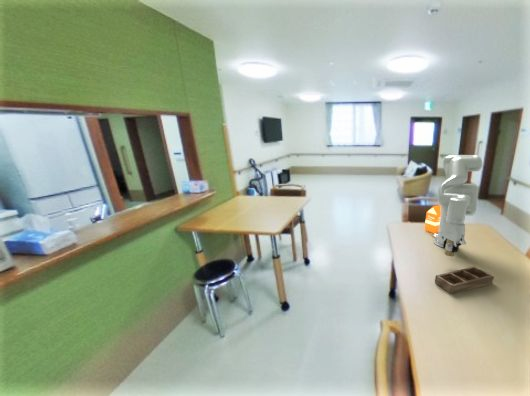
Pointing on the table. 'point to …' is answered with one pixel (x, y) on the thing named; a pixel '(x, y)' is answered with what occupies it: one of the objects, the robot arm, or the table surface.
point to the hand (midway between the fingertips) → (450, 249)
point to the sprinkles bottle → (449, 248)
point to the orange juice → (433, 219)
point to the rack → (463, 279)
